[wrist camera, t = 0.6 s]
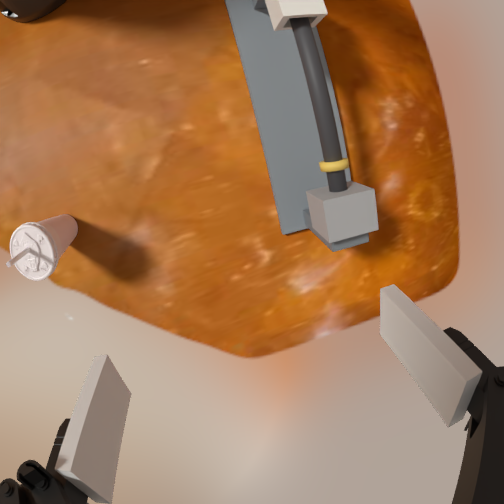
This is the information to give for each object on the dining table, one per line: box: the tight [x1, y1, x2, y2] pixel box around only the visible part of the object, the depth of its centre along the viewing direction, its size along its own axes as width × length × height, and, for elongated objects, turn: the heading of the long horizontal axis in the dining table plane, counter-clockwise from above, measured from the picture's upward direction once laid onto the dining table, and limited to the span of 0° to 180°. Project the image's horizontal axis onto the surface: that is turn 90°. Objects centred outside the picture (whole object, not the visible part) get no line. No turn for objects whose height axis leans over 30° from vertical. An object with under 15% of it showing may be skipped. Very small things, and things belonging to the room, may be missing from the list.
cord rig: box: [225, 0, 379, 252], centre depth 28 cm, size 31×10×12 cm, turn 13°
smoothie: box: [6, 214, 78, 281], centre depth 29 cm, size 6×6×14 cm
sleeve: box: [265, 0, 328, 31], centre depth 22 cm, size 5×4×4 cm
